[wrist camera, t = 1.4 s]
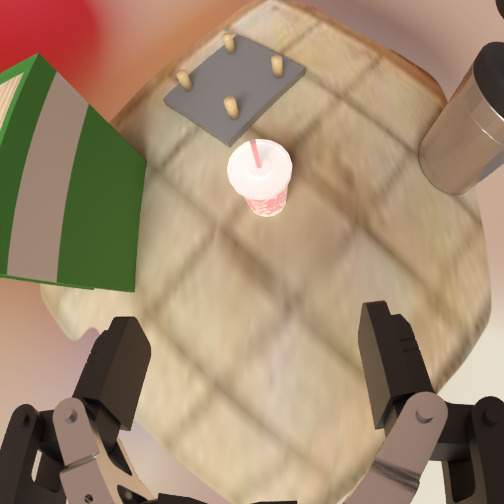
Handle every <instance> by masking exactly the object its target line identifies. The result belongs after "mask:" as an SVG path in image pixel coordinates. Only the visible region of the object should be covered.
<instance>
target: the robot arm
mask: <svg viewBox="0 0 504 504" xmlns="http://www.w3.org/2000/svg"><path fill="white" fill-rule="evenodd" d="M496 6H497V8H498V11H499V13H500V15H501V16H502V17H503V19H504V0H496ZM418 157H419V163H420V166H421V169H422V170H423V172H424V174H425V176H426V177H427V179H428V180H429V181H430V182H431V183H432V184H433V185H434V186H435V187H436V188H438V189H439V190H441V191H443V192H445V193H448V194H452V195H459V194H463V193H465V192H466V191H468V190H469V189H471V188H472V187H473V186H475V185H476V184H477V183H478V182H480V181H482V180H483V179H484V178H485V177H487V176H488V175H489V174H490V173H492V172H493V171H494V170H496V169H497V168H498V167H500V166H501V165H502V164H504V43H503V42H491V43H488V44H487V45H485V46H484V47H483V48H482V49H481V51H480V52H479V54H478V56H477V57H476V59H475V61H474V62H473V64H472V65H471V67H470V69H469V70H468V72H467V74H466V75H465V77H464V78H463V80H462V82H461V83H460V85H459V87H458V88H457V90H456V92H455V93H454V94H453V96H452V97H451V99H450V100H449V102H448V103H447V105H446V106H445V108H444V109H443V111H442V112H441V114H440V115H439V117H438V118H437V120H436V121H435V123H434V124H433V126H432V127H431V129H430V130H429V132H428V133H427V134H426V136H425V137H424V139H423V140H422V142H421V143H420V146H419V152H418ZM358 343H359V350H360V354H361V359H362V363H363V368H364V373H365V378H366V383H367V388H368V393H369V398H370V404H371V409H372V415H373V420H374V426H375V430H376V429H381V428H384V430H385V436H386V438H385V440H384V442H383V444H382V445H381V447H380V449H379V450H378V452H377V454H376V455H375V457H374V458H373V460H372V462H371V463H370V465H369V466H368V468H367V469H366V471H365V472H364V474H363V476H362V477H361V479H360V480H359V481H358V483H357V484H356V486H355V487H354V489H353V490H352V491H351V493H350V494H349V496H348V497H347V498H346V500H345V501H344V502H343V504H410V503H411V501H412V499H413V497H414V496H415V494H416V492H417V490H418V487H419V484H420V482H419V479H420V477H421V474H422V472H423V471H424V469H425V466H426V465H427V463H428V461H429V460H432V461H441V462H442V469H443V476H444V485H445V494H446V504H504V402H503V401H501V400H500V399H498V398H497V397H493V396H488V397H484V398H482V399H480V400H479V401H478V402H477V403H476V404H475V405H464V404H452V403H448V402H446V401H444V400H443V399H442V398H441V397H439V396H438V395H437V394H436V393H435V392H434V390H433V388H432V385H431V382H430V379H429V376H428V373H427V370H426V367H425V364H424V361H423V358H422V355H421V352H420V350H419V347H418V344H417V341H416V340H415V336H414V333H413V331H412V328H411V325H410V324H409V323H408V322H407V320H406V319H405V318H404V317H403V316H402V315H401V314H396V315H391V314H390V311H389V309H388V306H387V303H386V302H385V301H375V302H367V303H363V305H362V311H361V318H360V325H359V331H358ZM150 358H151V346H150V343H149V341H148V339H147V337H146V335H145V333H144V332H143V330H142V328H141V326H140V324H139V322H138V320H137V319H136V318H135V317H115V318H114V319H113V320H112V322H111V325H110V327H109V329H108V330H104V332H103V333H102V334H101V335H100V336H99V337H98V338H97V339H96V341H95V343H94V345H93V348H92V350H91V354H90V355H89V357H88V359H87V363H86V364H85V367H84V369H83V371H82V374H81V376H80V379H79V381H78V384H77V386H76V389H75V391H74V394H73V396H72V398H67V399H64V400H63V401H61V402H60V403H59V404H58V405H57V407H56V408H55V409H54V410H48V411H41V412H38V411H37V410H36V409H35V408H34V407H33V406H31V405H29V404H23V405H21V406H19V407H18V408H17V409H15V411H14V412H13V414H12V416H11V419H10V422H9V425H8V428H7V431H6V434H5V437H4V440H3V443H2V446H1V449H0V504H66V499H67V500H68V502H69V504H207V503H204V502H201V501H199V500H196V499H193V498H190V497H182V496H175V495H168V494H162V493H159V494H158V499H154V497H153V495H152V494H151V492H150V491H149V489H148V488H147V487H146V486H145V485H144V484H143V482H141V480H140V479H139V478H138V476H137V474H136V472H135V470H134V468H133V466H132V464H131V462H130V460H129V458H128V455H127V453H126V451H125V449H124V447H123V445H122V442H121V440H120V438H119V437H118V433H119V430H120V429H121V430H127V431H130V430H131V426H132V423H133V419H134V415H135V411H136V407H137V404H138V400H139V396H140V393H141V389H142V386H143V382H144V379H145V375H146V372H147V368H148V365H149V361H150ZM37 450H39V451H40V452H42V456H41V460H40V463H39V467H38V472H37V476H36V480H35V482H34V481H33V480H32V476H31V473H32V469H33V465H34V461H35V457H36V454H37ZM252 504H297V501H275V502H257V503H252Z"/></svg>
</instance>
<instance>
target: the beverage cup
mask: <svg viewBox="0 0 504 504" xmlns="http://www.w3.org/2000/svg"><path fill="white" fill-rule="evenodd" d="M227 173H228V177H229V181H230V183H231V184H232V186H233V187H234V188H235V190H236V191H237V192H238V193H239V194H241V195H242V196H243V197H244V199H245V200H246V202H247V203H248V205H249V206H250V207H251V209H252V210H253V211H254V212H255V213H257V214H258V215H260V216H266V217H269V216H273V215H276V214H277V213H279V212H280V211H282V209H283V207H284V206H285V204H286V198H287V189H288V183H289V182H290V180H291V173H292V162H291V159H290V156H289V154H288V153H287V151H286V150H285V149H284V148H283V147H282V146H281V145H279V144H277V143H275V142H273V141H271V140H263V139H256V140H255V139H251V140H250V141H249V142H246V143H244V144H243V145H241V146H240V147H238V148H237V149H236V150H235V151H234V153H233V154H232V155H231V157H230V158H229V162H228V167H227Z"/></svg>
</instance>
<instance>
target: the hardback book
mask: <svg viewBox="0 0 504 504" xmlns="http://www.w3.org/2000/svg"><path fill="white" fill-rule="evenodd" d="M146 163H147V161H146V160H145V159H144V158H143V157H142V156H141V155H140V154H139V153H138V152H137V151H136V150H135V149H134V148H133V147H132V146H131V145H130V144H129V143H128V142H127V141H126V140H125V139H124V138H123V137H122V136H121V135H120V134H119V133H118V132H117V131H116V130H115V129H114V128H113V127H112V126H111V125H110V124H109V123H108V122H107V121H106V120H105V119H104V118H103V117H102V116H101V115H100V114H99V113H98V112H97V111H96V110H95V109H94V108H93V107H92V106H91V105H90V104H89V103H88V102H87V101H86V100H85V99H84V98H83V97H82V96H81V95H80V94H79V93H78V92H77V91H76V90H75V89H74V88H73V87H72V86H71V85H70V84H69V83H68V82H67V81H66V80H65V79H64V78H63V77H62V76H61V75H60V74H59V73H58V72H57V71H56V70H55V69H54V68H53V67H52V66H51V65H50V64H49V63H48V62H47V61H46V60H45V59H44V58H43V57H42V56H41V55H40V54H39V53H38V54H36V55H34V56H32V57H30V58H28V59H26V60H24V61H22V62H20V63H18V64H16V65H15V66H13V67H11V68H9V69H7V70H6V71H4V72H3V73H1V74H0V277H2V278H8V279H15V280H21V281H28V282H35V283H42V284H49V285H57V286H65V287H73V288H81V289H90V290H94V288H98V289H106V290H115V291H124V292H134V287H135V269H136V254H137V241H138V230H139V219H140V210H141V201H142V193H143V185H144V177H145V170H146Z"/></svg>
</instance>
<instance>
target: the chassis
mask: <svg viewBox="0 0 504 504" xmlns="http://www.w3.org/2000/svg"><path fill="white" fill-rule="evenodd" d="M222 38H223V42H224V46H222V47H221V48H220V49H219V50H217V51H216V52H215V53H214V54H213V55H211V56H210V57H209V58H208V59H207V60H205V61H204V62H203V63H202V64H201V65H200V66H198V67H197V68H196V69H195V70H194V71H193V72H192V73H190V74H189V75H188V74H187V72H186V71H185V70H180V71H178V72H177V74H176V76H177V78H178V79H179V81H180V83H179V84H178V85H177V86H176V87H175V88H174V89H173V90H172V91H171V92H170V93H169V94H168V95H167V96H166V97H165V98H164V99H163V100H164V102H165V103H166V105H167V106H169V107H171V108H172V109H174V110H175V111H177V112H178V113H180V114H181V115H183V116H184V117H186V118H187V119H189V120H190V121H192V122H193V123H195V124H196V125H198V126H199V127H201V128H202V129H204V130H205V131H207V132H208V133H210V134H211V135H212V136H214V137H215V138H217V139H218V140H220V141H221V142H223V143H224V144H225V145H227V146H228V147H231V146H232V145H233V144H234V143H235V142H236V141H237V140H238V139H239V138H240V137H241V135H242V134H243V133H244V132H245V131H246V130H247V129H248V128H249V127H250V126H251V125H252V124H253V123H254V122H255V121H256V120H257V119H258V118H259V117H260V116H261V115H262V114H263V113H264V112H265V111H266V110H267V109H268V108H270V107H271V106H272V105H273V104H274V103H275V102H276V101H277V100H278V99H279V98H280V97H281V96H282V95H283V94H284V93H285V92H286V91H287V90H288V89H289V88H290V87H292V86H293V85H294V84H295V83H296V82H297V81H298V80H299V79H300V78H301V77H302V76H303V75H305V67H303V66H301V65H299V64H297V63H296V62H294V61H292V60H290V59H288V58H286V57H284V56H282V55H280V54H278V53H276V52H274V51H272V50H270V49H267V48H265V47H263V46H261V45H259V44H257V43H254V42H252V41H250V40H248V39H245V38H243V37H241V36H238V35H236V36H235V37H234V38H232V34H231V33H225V34H223V35H222Z"/></svg>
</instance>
